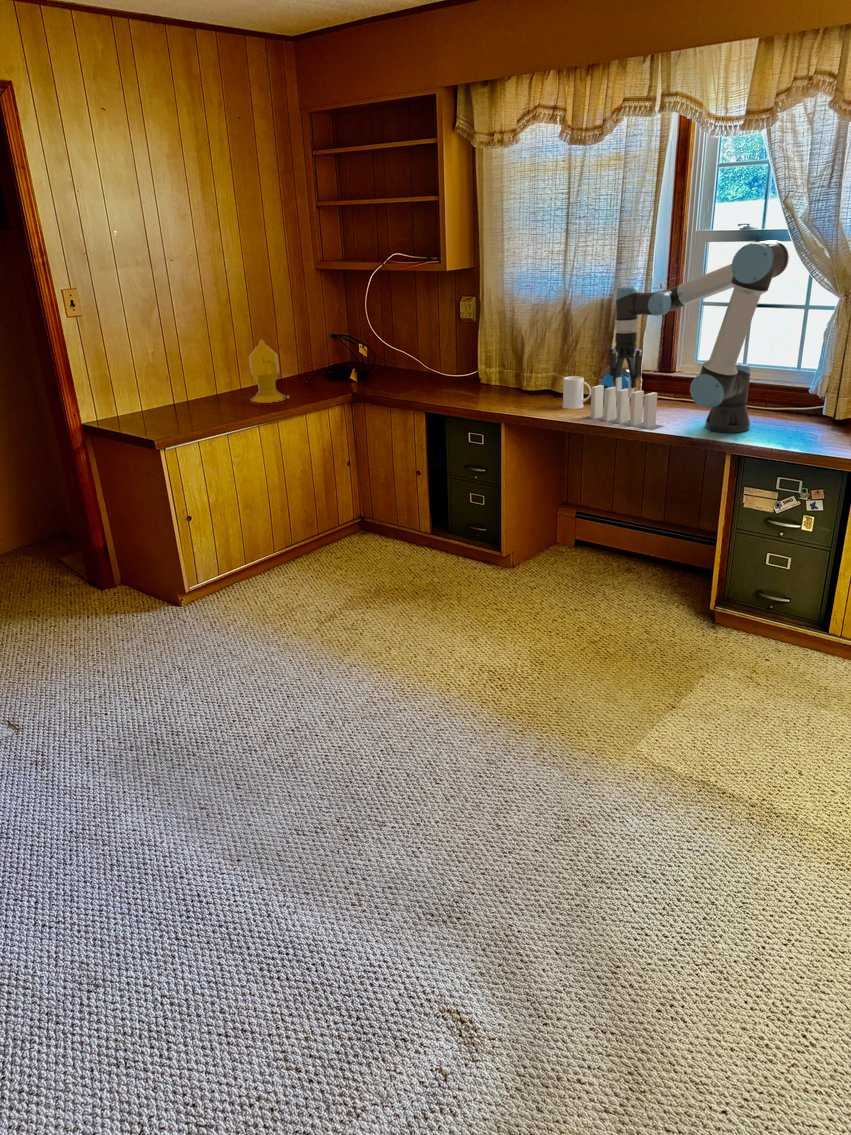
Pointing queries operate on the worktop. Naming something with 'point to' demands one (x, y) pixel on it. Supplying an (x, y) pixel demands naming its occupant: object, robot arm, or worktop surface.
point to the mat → (625, 423)
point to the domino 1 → (597, 401)
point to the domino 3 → (622, 406)
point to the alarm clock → (609, 380)
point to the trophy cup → (265, 374)
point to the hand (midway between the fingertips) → (624, 395)
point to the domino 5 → (650, 410)
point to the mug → (574, 392)
